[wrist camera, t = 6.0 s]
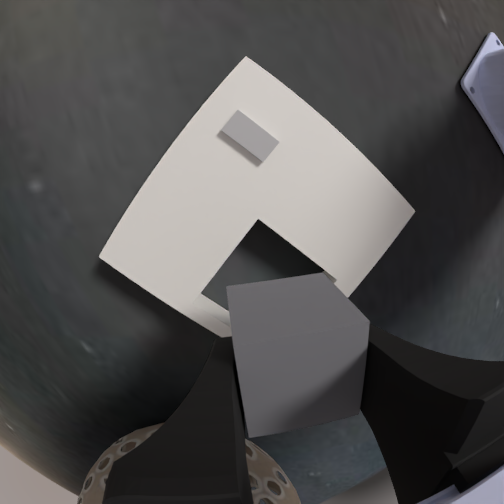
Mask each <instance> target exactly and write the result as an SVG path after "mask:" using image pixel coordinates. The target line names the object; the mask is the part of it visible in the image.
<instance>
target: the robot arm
mask: <svg viewBox="0 0 504 504" xmlns="http://www.w3.org/2000/svg"><path fill="white" fill-rule="evenodd" d="M461 87H462V89H463V90H464V91H465V93H466V94H467V96H468V97H469V98H470V100H471V101H472V103H473V104H474V106H475V107H476V109H477V110H478V112H479V113H480V115H481V116H482V118H483V120H484V121H485V123H486V124H487V126H488V128H489V129H490V131H491V133H492V134H493V136H494V138H495V139H496V141H497V143H498V145H499V146H500V148H501V150H502V152H503V154H504V46H503V45H502V43H501V42H500V41H499V39H498V38H497V36H496V35H495V34H494V33H493V32H491V33H488V35H487V37H486V39H485V40H484V42H483V44H482V46H481V47H480V49H479V51H478V53H477V54H476V56H475V58H474V59H473V61H472V63H471V64H470V66H469V68H468V69H467V71H466V73H465V74H464V76H463V78H462V79H461ZM470 89H471V91H470ZM360 410H361V411H362V413H363V415H364V416H365V418H366V420H367V421H368V423H369V425H370V427H371V429H372V431H373V433H374V435H375V438H376V440H377V442H378V445H379V447H380V450H381V452H382V455H383V457H384V460H385V463H386V465H387V468H388V471H389V474H390V477H391V480H392V483H393V486H394V489H395V493H396V496H397V500H398V504H504V361H482V360H473V359H466V358H460V357H455V356H450V355H446V354H442V353H438V352H435V351H432V350H429V349H426V348H423V347H420V346H417V345H415V344H412V343H410V342H407V341H405V340H403V339H400V338H398V337H396V336H394V335H392V334H390V333H388V332H386V331H384V330H382V329H380V328H378V327H376V326H374V325H372V324H369V337H368V348H367V358H366V367H365V375H364V383H363V391H362V398H361V405H360ZM102 504H254V502H253V496H252V490H251V485H250V478H249V472H248V466H247V460H246V448H245V422H244V407H243V401H242V396H241V390H240V384H239V378H238V372H237V366H236V360H235V354H234V348H233V340H232V336H230V337H222V338H216V339H215V340H214V342H213V346H212V349H211V352H210V354H209V356H208V359H207V361H206V363H205V365H204V367H203V369H202V371H201V373H200V375H199V377H198V379H197V380H196V382H195V384H194V385H193V387H192V389H191V390H190V392H189V393H188V395H187V396H186V398H185V399H184V400H183V402H182V403H181V404H180V406H179V407H178V408H177V409H176V410H175V412H174V413H173V414H172V415H171V416H170V417H169V418H168V420H167V421H166V422H165V423H164V424H163V425H162V426H161V427H160V428H159V429H158V430H156V431H155V432H154V433H153V434H152V435H151V436H150V437H148V438H147V439H146V440H145V441H144V442H143V443H141V444H140V445H139V446H137V447H136V448H134V449H133V450H131V451H130V452H128V453H127V454H125V455H124V456H122V457H121V458H119V459H117V460H116V461H114V462H113V465H112V467H111V470H110V472H109V475H108V478H107V481H106V486H105V491H104V496H103V501H102Z"/></svg>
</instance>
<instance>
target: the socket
mask: <svg viewBox="0 0 504 504" xmlns="http://www.w3.org/2000/svg"><path fill="white" fill-rule="evenodd" d="M414 213H415V210H414V209H413V208H412V207H411V205H410V204H409V203H408V202H407V201H406V200H405V199H404V197H403V196H402V195H401V194H400V193H399V192H398V191H397V190H396V189H395V187H394V186H393V185H392V184H391V183H390V182H389V181H388V180H387V179H386V178H385V177H384V176H383V175H382V174H381V172H380V171H379V170H378V169H377V168H376V167H375V166H374V165H373V164H372V163H371V162H370V161H369V160H368V159H367V158H366V157H365V156H364V155H363V154H362V153H361V152H360V151H359V150H358V149H357V148H356V147H355V146H354V145H353V144H352V143H351V142H350V141H348V140H347V139H346V138H345V137H344V136H343V135H342V134H341V133H340V132H339V131H338V130H337V129H336V128H335V127H333V126H332V125H331V124H330V123H329V122H328V121H327V120H326V119H325V118H323V117H322V116H321V115H320V114H319V113H318V112H317V111H315V110H314V109H313V108H312V107H311V106H310V105H308V104H307V103H306V102H305V101H304V100H302V99H301V98H300V97H299V96H298V95H296V94H295V93H294V92H293V91H291V90H290V89H289V88H288V87H286V86H285V85H284V84H283V83H281V82H280V81H279V80H277V79H276V78H275V77H274V76H272V75H271V74H270V73H268V72H267V71H266V70H264V69H263V68H262V67H260V66H259V65H257V64H256V63H255V62H253V61H252V60H251V59H249V58H248V57H245V58H244V59H243V60H242V61H241V62H240V63H239V64H238V65H237V66H236V67H235V68H234V70H233V71H232V72H231V73H230V74H229V75H228V76H227V77H226V78H225V80H224V81H223V82H222V83H221V84H220V85H219V86H218V88H217V89H216V90H215V91H214V92H213V93H212V95H211V96H210V97H209V98H208V99H207V101H206V102H205V103H204V104H203V105H202V107H201V108H200V109H199V110H198V112H197V113H196V114H195V115H194V117H193V118H192V119H191V120H190V122H189V123H188V124H187V125H186V127H185V128H184V129H183V131H182V132H181V133H180V134H179V136H178V137H177V138H176V140H175V141H174V142H173V144H172V145H171V146H170V148H169V149H168V150H167V152H166V153H165V155H164V156H163V157H162V159H161V160H160V162H159V163H158V164H157V166H156V167H155V169H154V170H153V171H152V173H151V174H150V176H149V177H148V179H147V180H146V182H145V183H144V184H143V186H142V187H141V189H140V190H139V192H138V193H137V195H136V196H135V198H134V200H133V201H132V203H131V204H130V206H129V207H128V209H127V210H126V212H125V214H124V215H123V217H122V218H121V220H120V222H119V223H118V225H117V226H116V228H115V230H114V231H113V233H112V235H111V236H110V238H109V240H108V242H107V243H106V245H105V247H104V248H103V250H102V252H101V254H100V255H99V258H101V259H102V260H104V261H105V262H106V263H108V264H109V265H111V266H112V267H113V268H115V269H116V270H118V271H119V272H120V273H122V274H123V275H125V276H126V277H128V278H129V279H131V280H132V281H133V282H135V283H136V284H138V285H139V286H141V287H142V288H144V289H145V290H147V291H148V292H150V293H151V294H153V295H154V296H156V297H157V298H159V299H160V300H162V301H163V302H165V303H167V304H168V305H170V306H171V307H173V308H174V309H176V310H177V311H179V312H181V313H182V314H184V315H185V316H187V317H189V318H190V319H192V320H193V321H195V322H197V323H198V324H200V325H202V326H203V327H205V328H207V329H208V330H210V331H212V332H213V333H215V334H217V335H218V336H220V337H230V336H232V332H231V323H230V315H229V311H227V310H226V309H224V308H222V307H221V306H219V305H218V304H216V303H215V302H213V301H212V300H210V299H208V298H207V297H205V296H204V295H202V294H201V292H202V290H203V289H204V288H205V286H206V285H207V284H208V283H209V281H210V280H211V279H212V277H213V276H214V275H215V273H216V272H217V271H218V270H219V268H220V267H221V266H222V264H223V263H224V262H225V261H226V259H227V258H228V257H229V255H230V254H231V253H232V252H233V250H234V249H235V248H236V246H237V245H238V244H239V243H240V241H241V240H242V239H243V238H244V236H245V235H246V234H247V232H248V231H249V230H250V229H251V227H252V226H253V225H254V223H255V222H256V221H257V220H258V219H259V220H261V221H262V222H263V223H264V224H266V225H267V226H268V227H270V228H271V229H272V230H274V231H275V232H276V233H278V234H279V235H280V236H281V237H283V238H284V239H285V240H287V241H288V242H289V243H291V244H292V245H293V246H294V247H296V248H297V249H298V250H300V251H301V252H302V253H303V254H305V255H306V256H307V257H309V258H310V259H311V260H312V261H314V262H315V263H316V264H318V265H319V266H320V267H321V268H323V269H324V271H323V273H324V274H325V275H326V276H327V277H328V278H329V279H330V280H331V281H332V282H333V283H334V284H335V285H336V286H337V288H338V289H339V290H340V291H341V292H342V293H343V294H344V295H345V296H346V297H347V298H348V297H349V296H350V295H351V294H352V292H353V291H354V290H355V289H356V288H357V286H358V285H359V284H360V283H361V282H362V280H363V279H364V278H365V277H366V275H367V274H368V273H369V272H370V270H371V269H372V268H373V267H374V266H375V264H376V263H377V262H378V260H379V259H380V258H381V257H382V255H383V254H384V253H385V252H386V250H387V249H388V248H389V246H390V245H391V244H392V242H393V241H394V240H395V238H396V237H397V236H398V234H399V233H400V232H401V230H402V229H403V228H404V226H405V225H406V224H407V222H408V221H409V220H410V218H411V217H412V215H413V214H414Z"/></svg>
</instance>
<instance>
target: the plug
mask: <svg viewBox="0 0 504 504" xmlns="http://www.w3.org/2000/svg"><path fill="white" fill-rule="evenodd" d="M226 288H227V297H228V306H229V315H230V323H231V332H232V340H233V348H234V354H235V360H236V366H237V372H238V378H239V384H240V390H241V396H242V401H243V407H244V413H245V418H246V424H247V429H248V435H249V438H252V437H258V436H265V435H271V434H277V433H282V432H288V431H293V430H298V429H302V428H307V427H312V426H316V425H320V424H324V423H329V422H332V421H336V420H340V419H344V418H348V417H351V416H355V415H358V414H359V411H360V405H361V398H362V391H363V383H364V375H365V367H366V358H367V348H368V337H369V324H370V321H369V320H368V319H367V318H366V317H365V316H364V315H363V314H362V312H361V311H360V310H359V309H358V308H357V307H356V306H355V305H354V304H353V303H352V302H351V301H350V300H349V299H348V298H347V297H346V296H345V295H344V294H343V293H342V292H341V291H340V290H339V289H338V288H337V286H336V285H335V284H334V283H333V282H332V281H331V280H330V279H329V278H328V277H327V276H326V275H325V274H324V273H323V272H322V273H316V274H309V275H303V276H296V277H290V278H283V279H276V280H269V281H262V282H255V283H248V284H240V285H233V286H226Z"/></svg>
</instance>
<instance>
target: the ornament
mask: <svg viewBox="0 0 504 504" xmlns="http://www.w3.org/2000/svg"><path fill="white" fill-rule="evenodd" d="M163 424H164V423H160V424H157V425H153V426H149V427H145V428H142V429H138V430H135V431H134V432H132V433H130V434H128V435H126V436H124V437H122V438H120V439H119V440H121V439H122V440H121V441H120V442H118V441H119V440H118V441H117V442H118V443H117V444H115V443H116V442H115V443H113V444H112V445H111V446H110V447H109V448H108V449H107V450H105V451H104V452H103V454H102V455H101V456H100V458H99V459H98V460H97V461H96V463H95V464H94V465H93V466H92V468H91V469H90V471H89V473H88V475H87V476H86V479H85V482H84V484H83V487H82V490H81V493H80V495H79V498H78V504H80V503H81V504H102V501H103V496H104V491H105V486H106V484H105V482H106V480H107V478H108V475H109V472H110V470H111V467H112V465H113V462H114V461H116V460H117V459H119V458H121V457H122V456H124V455H125V454H127V453H128V452H130V451H131V450H133V449H134V448H136V447H137V446H139V445H140V444H141V443H143V442H144V441H145V440H146V439H147V438H148V437H150V436H151V435H152V434H153V433H154V432H155V431H156V430H158V429H159V428H160V427H161V426H162V425H163ZM121 448H122V451H121ZM245 448H246V460H247V466H248V472H249V478H250V485H251V487H256V488H257V489H255V490H252V496H253V502H254V504H260V499H262V500H263V501H264V502H265V503H266V504H301V502H300V500H299V497H298V494H297V492H296V489H295V488H294V486H293V485H292V483H291V482H290V480H289V479H288V477H287V476H286V474H285V473H284V472H283V470H282V469H281V468H280V466H279V465H278V464H277V463H276V462H275V460H274V459H273V458H272V457H271V456H269V455H268V454H267V453H266V452H265V451H263V450H262V449H261V448H260V447H258V446H257V445H256V444H254V443H253V442H251V441H249V440H247V439H245ZM101 461H102V462H101ZM100 462H101V463H100ZM277 471H279V472H280V473H281V474H282V475H283V476H284V478H285V479H286V482H285V481H283V480H282V479H281V478H280V476H279V475H278V473H277ZM88 479H89V481H88V485H87V487H86V488H85V485H86V481H87V480H88ZM256 480H257V483H256ZM257 484H258V485H257ZM84 488H85V489H84ZM269 489H271V490H273V491H275V492H276V493H277V494H278V495H275V494H274V493H272V492H271V491H270V490H269Z"/></svg>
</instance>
